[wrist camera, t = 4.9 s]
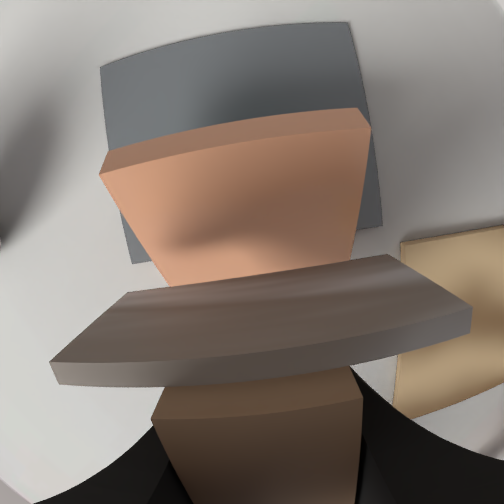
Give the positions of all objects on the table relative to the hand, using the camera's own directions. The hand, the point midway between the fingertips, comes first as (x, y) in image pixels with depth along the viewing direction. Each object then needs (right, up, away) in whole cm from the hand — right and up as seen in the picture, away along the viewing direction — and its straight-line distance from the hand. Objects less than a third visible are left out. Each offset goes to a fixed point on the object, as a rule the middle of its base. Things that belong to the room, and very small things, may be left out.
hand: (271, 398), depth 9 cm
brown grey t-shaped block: (0, +1, +2) cm, 2 cm away
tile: (0, +4, +5) cm, 6 cm away
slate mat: (-1, +10, +4) cm, 11 cm away
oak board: (+13, 0, +6) cm, 15 cm away
